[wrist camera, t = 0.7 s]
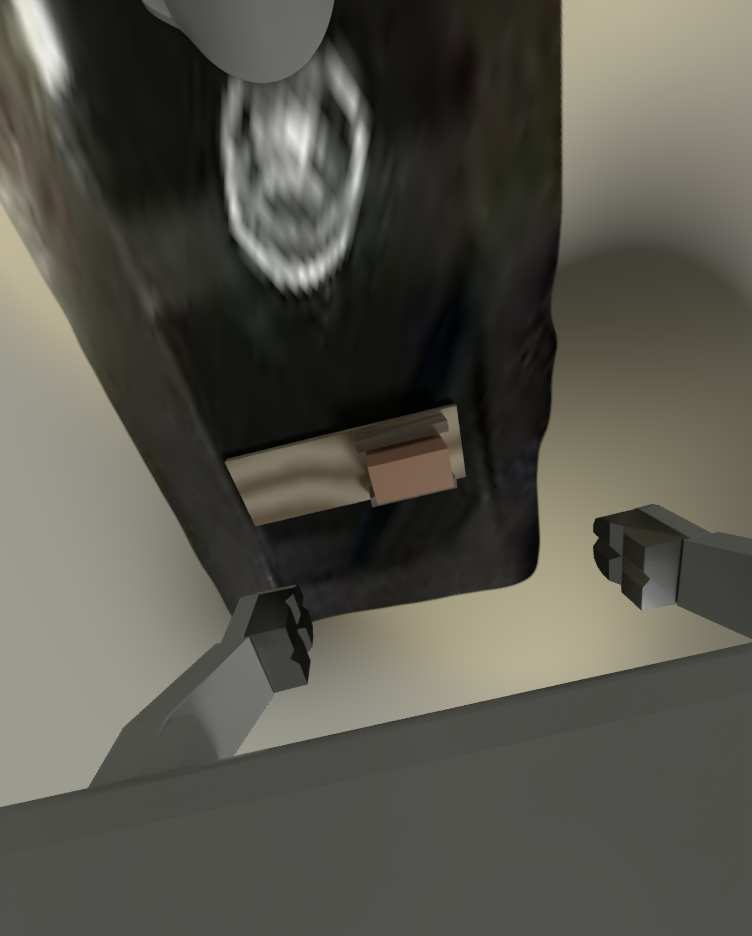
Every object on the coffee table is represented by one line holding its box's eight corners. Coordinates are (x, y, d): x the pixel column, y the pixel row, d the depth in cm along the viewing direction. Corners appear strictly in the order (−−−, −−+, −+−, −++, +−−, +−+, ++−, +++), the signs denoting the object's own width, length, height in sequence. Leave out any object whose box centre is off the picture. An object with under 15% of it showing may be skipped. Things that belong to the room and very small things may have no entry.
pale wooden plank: (227, 458, 49) (217, 472, 46) (454, 403, 48) (462, 412, 44) (257, 522, 54) (250, 538, 51) (463, 473, 53) (472, 487, 49)
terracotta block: (365, 447, 49) (367, 467, 43) (437, 430, 48) (448, 448, 43) (374, 482, 51) (377, 504, 46) (443, 465, 51) (454, 486, 45)
